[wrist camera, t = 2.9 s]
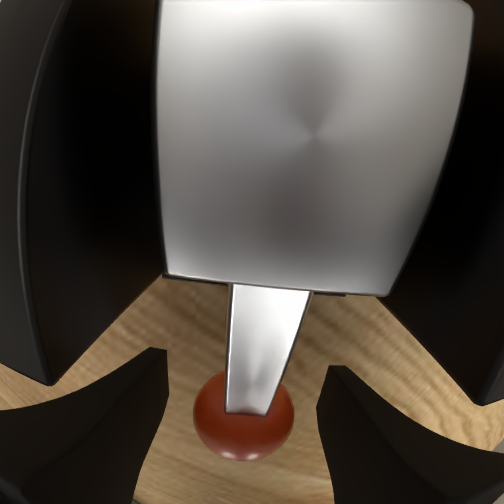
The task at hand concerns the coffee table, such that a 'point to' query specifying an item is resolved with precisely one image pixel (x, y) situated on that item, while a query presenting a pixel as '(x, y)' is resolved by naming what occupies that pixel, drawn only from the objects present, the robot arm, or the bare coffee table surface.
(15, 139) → the bracket
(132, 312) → the coffee table surface
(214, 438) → the lever
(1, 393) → the coffee table surface
